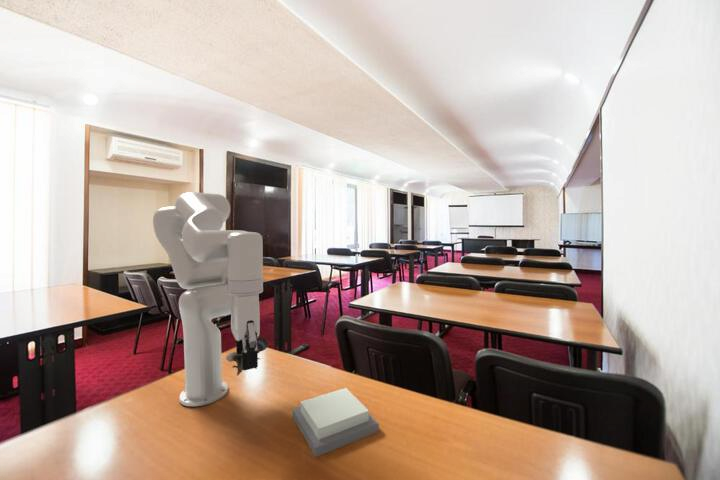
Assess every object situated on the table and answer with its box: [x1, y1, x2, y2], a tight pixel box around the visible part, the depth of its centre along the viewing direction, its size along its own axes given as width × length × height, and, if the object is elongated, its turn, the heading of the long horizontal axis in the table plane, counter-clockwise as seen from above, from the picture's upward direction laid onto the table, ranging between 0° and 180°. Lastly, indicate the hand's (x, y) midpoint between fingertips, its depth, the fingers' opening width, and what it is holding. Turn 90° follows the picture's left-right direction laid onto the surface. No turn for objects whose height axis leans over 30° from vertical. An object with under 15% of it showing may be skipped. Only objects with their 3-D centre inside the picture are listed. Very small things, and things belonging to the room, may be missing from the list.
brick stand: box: [291, 387, 380, 458], centre depth 75 cm, size 16×16×5 cm
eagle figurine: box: [225, 337, 269, 376], centre depth 72 cm, size 8×7×9 cm
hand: (246, 360), depth 70 cm, fingers closed on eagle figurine, 7 cm apart
